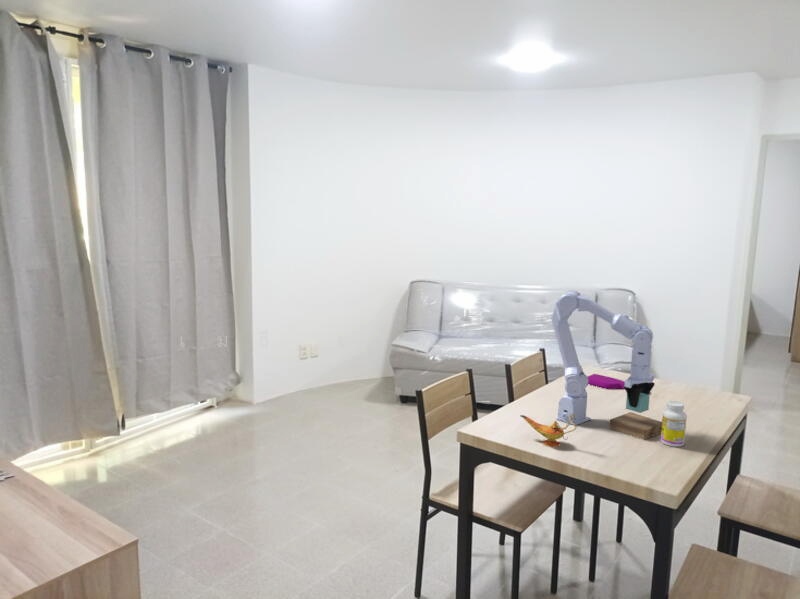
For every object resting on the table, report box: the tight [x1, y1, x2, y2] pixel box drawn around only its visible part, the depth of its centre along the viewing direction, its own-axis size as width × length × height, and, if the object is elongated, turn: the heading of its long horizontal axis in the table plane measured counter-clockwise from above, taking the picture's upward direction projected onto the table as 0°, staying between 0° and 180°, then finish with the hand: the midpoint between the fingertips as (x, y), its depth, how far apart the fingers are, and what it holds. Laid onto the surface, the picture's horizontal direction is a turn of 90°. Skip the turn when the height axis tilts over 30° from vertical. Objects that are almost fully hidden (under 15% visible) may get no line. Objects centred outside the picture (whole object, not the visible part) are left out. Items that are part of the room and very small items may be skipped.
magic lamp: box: [519, 414, 577, 448], centre depth 175 cm, size 7×18×11 cm, turn 55°
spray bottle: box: [587, 373, 625, 390], centre depth 232 cm, size 3×11×24 cm
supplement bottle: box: [660, 400, 688, 448], centre depth 175 cm, size 7×7×13 cm
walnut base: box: [608, 411, 662, 441], centre depth 186 cm, size 12×12×3 cm
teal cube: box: [625, 393, 650, 414], centre depth 185 cm, size 5×5×5 cm
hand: (637, 404), depth 185 cm, fingers closed on teal cube, 5 cm apart
